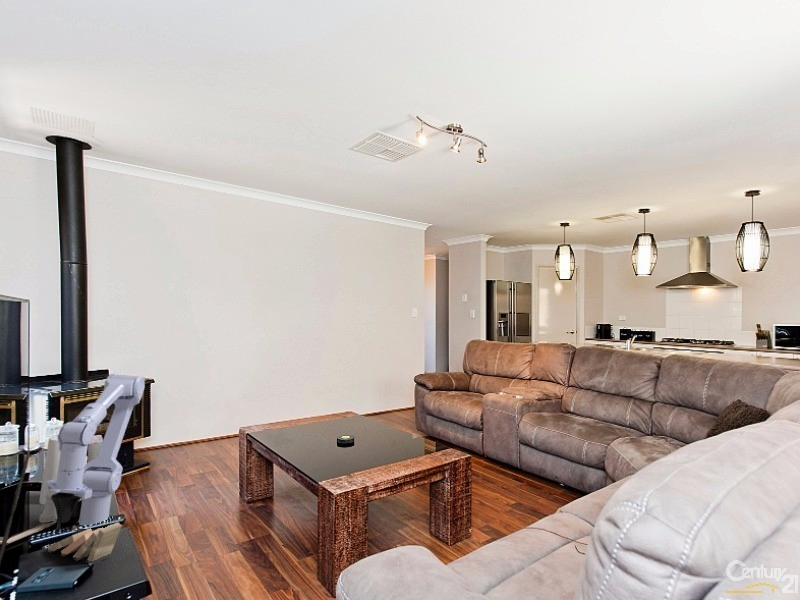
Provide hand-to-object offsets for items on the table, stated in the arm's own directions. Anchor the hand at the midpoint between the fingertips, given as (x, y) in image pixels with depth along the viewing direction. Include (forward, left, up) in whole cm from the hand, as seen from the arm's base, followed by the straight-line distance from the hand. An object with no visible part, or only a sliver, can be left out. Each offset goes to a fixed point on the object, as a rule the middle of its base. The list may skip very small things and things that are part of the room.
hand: (63, 521), depth 117 cm
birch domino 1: (0, 0, -6) cm, 6 cm away
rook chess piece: (-21, -6, -7) cm, 23 cm away
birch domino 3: (+10, +10, -7) cm, 15 cm away
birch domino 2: (+6, +6, -6) cm, 11 cm away
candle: (-38, -7, -7) cm, 39 cm away
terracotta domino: (+3, +3, -6) cm, 8 cm away
